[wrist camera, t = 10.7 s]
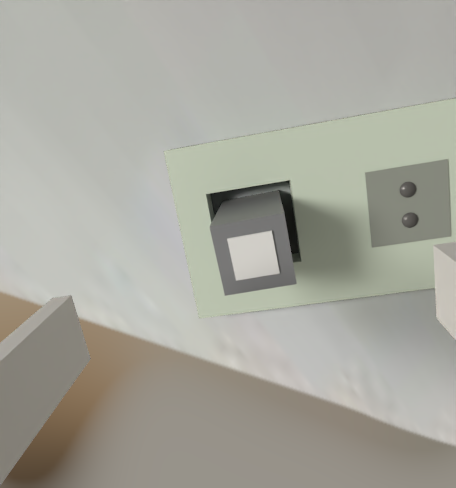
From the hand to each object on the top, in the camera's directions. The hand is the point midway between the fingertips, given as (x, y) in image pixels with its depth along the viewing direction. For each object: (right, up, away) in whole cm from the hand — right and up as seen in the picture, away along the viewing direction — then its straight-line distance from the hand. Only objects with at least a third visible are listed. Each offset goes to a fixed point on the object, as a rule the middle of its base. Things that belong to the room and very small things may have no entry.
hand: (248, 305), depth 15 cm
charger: (+1, +4, +15) cm, 16 cm away
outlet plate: (+6, +5, +14) cm, 16 cm away
